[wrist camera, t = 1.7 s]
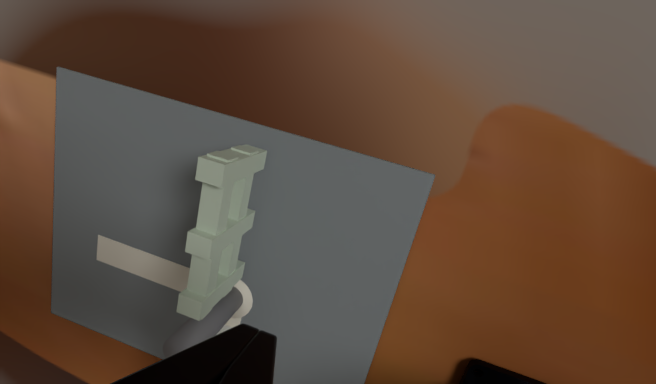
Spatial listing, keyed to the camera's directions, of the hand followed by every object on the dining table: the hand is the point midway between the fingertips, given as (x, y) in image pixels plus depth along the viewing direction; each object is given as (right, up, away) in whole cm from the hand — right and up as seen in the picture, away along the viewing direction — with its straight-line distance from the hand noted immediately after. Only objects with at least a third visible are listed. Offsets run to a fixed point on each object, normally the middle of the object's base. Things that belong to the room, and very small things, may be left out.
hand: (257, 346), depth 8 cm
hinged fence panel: (-3, +2, +12) cm, 13 cm away
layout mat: (-6, -1, +14) cm, 15 cm away
